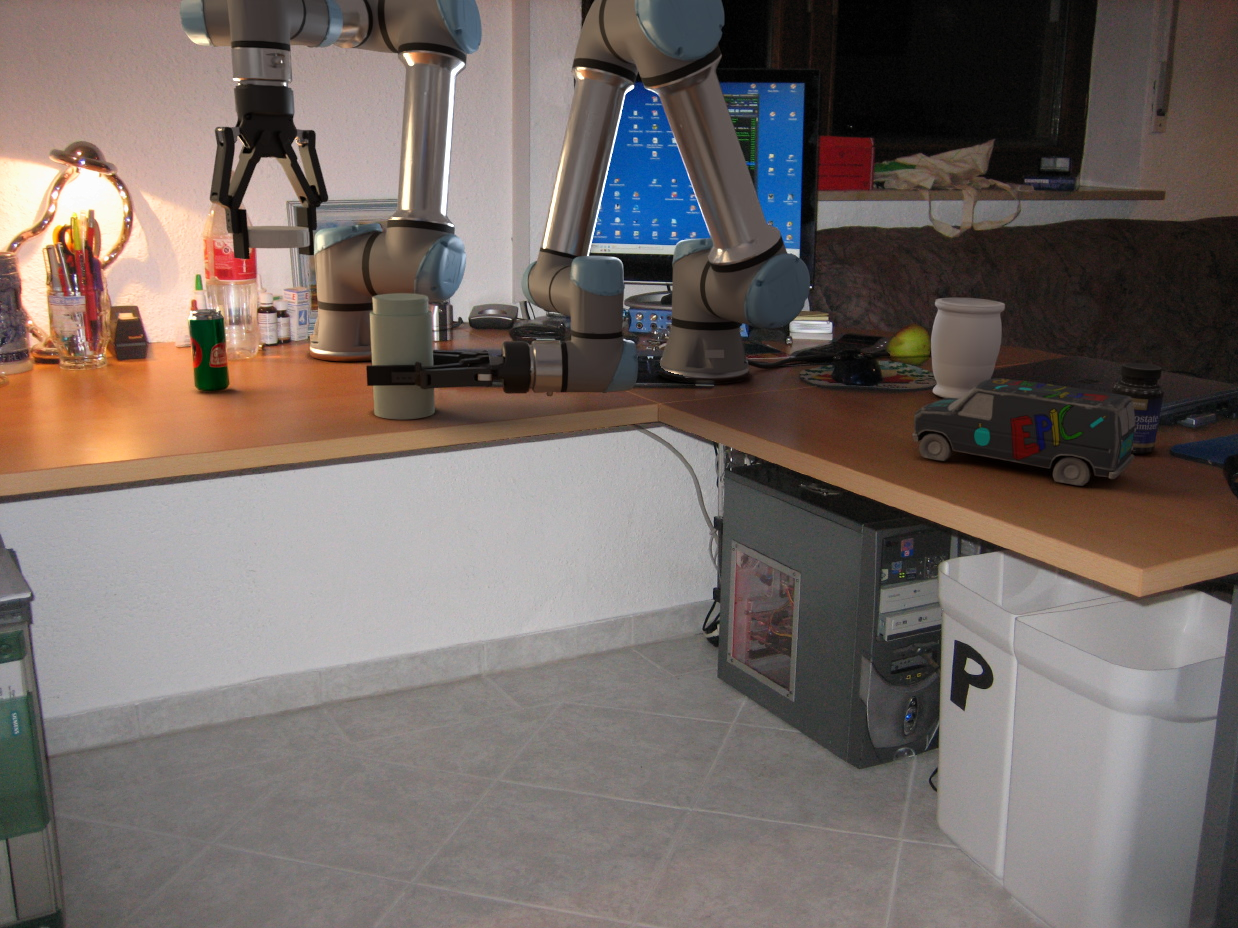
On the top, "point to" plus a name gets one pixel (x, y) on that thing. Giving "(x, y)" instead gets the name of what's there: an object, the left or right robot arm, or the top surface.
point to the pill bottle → (1142, 401)
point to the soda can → (209, 350)
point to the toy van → (1033, 428)
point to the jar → (964, 343)
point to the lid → (278, 237)
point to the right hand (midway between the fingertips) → (369, 369)
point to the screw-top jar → (402, 352)
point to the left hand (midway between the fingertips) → (275, 256)
